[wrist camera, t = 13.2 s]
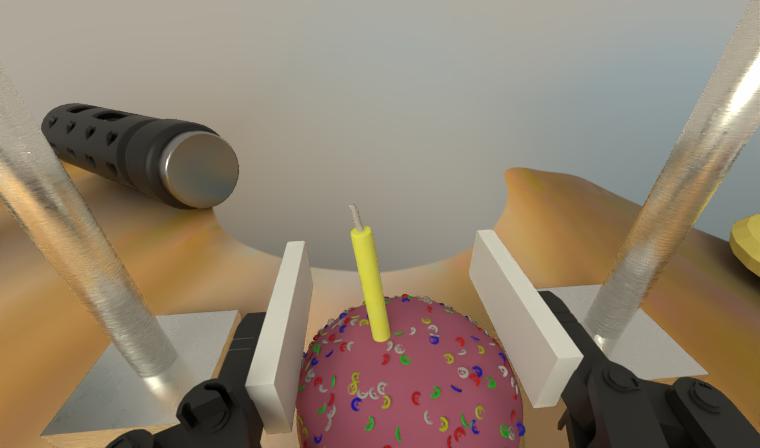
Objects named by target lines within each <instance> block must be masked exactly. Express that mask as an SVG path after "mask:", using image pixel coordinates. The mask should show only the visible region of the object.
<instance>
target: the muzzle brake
mask: <svg viewBox="0 0 760 448" xmlns="http://www.w3.org/2000/svg"><path fill="white" fill-rule="evenodd" d="M105 120H106V121H105ZM41 131H42V132H43V134H44V136H45V137H46V139H47V141H48V142H49V144H50V146H51V147H52V149H53V150H54V152H55V154H56V155H57V157H58V158H59V159H61V160H63V161H65V162H67V163H69V164H72V165H74V166H77V167H80V168H82V169H84V170H87V171H90V172H92V173H95V174H98V175H100V176H102V177H105V178H107V179H110V180H113V181H116V182H118V183H120V184H123V185H125V186H128V187H130V188H133V189H136V190H138V191H141V192H142V193H144V194H145V195H147V196H148V197H150V198H152V199H154V200H157V201H159V202H162V203H164V204H167V205H169V206H172V207H174V208H179V209H186V210H193V209H198V208H209V207H213V206H216V205H218V204H220V203H222V202H223V201H224V200H226V198H228V197H229V195H230V194H231V193H232V192H233V190H234V188H235V186H236V183H237V180H238V175H239V165H238V160H237V157H236V154H235V152H234V151H233V149H232V147H231V146H230V145H229V144H228V143H227V142H226V141H225V140H224V139H222V138H221V137H220V136H219V135H218V134H217V133H216V132H215V131H213V130H212V129H210V128H208V127H206V126H204V125H201V124H197V123H193V122H188V121H182V120H177V119H158V118H153V117H148V116H143V115H138V114H133V113H128V112H123V111H117V110H112V109H107V108H102V107H97V106H92V105H87V104H79V103H73V104H65V105H61V106H59V107H57V108H54V109H53V110H51V111H50V112H49V113H48V114H47V115H46V117H45V118H44V119H43V122H42V125H41Z"/></svg>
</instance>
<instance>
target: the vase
mask: <svg viewBox="0 0 760 448" xmlns="http://www.w3.org/2000/svg"><path fill="white" fill-rule="evenodd" d="M729 243H730V246H731V248H732V251H733V253H734V255H735V256H736V257H737V258H738V259H739V260H740V261H741V262H742V263H743V264H744V265H745V266H746V267H747V268H748V269H749V270H751V271H752V272H753V273H755V274H756V275H757V276H759V277H760V213H759V214H756V215H753V216H749V217H746V218H744V219H741V220H739V221H737V222H735V223H734V226H733V227H732V230H731V234H730V240H729Z"/></svg>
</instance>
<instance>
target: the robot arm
mask: <svg viewBox="0 0 760 448" xmlns="http://www.w3.org/2000/svg"><path fill="white" fill-rule="evenodd" d="M469 276H470V279H471V281H472V283H473V285H474V287H475V289H476V291H477V293H478V295H479V297H480V299H481V301H482V303H483V305H484V307H485V309H486V312H487V314H488V316H489V318H490V320H491V322H492V324H493V326H494V328H495V330H496V332H497V334H498V336H499V338H500V340H501V343H502V345H503V347H504V349H505V351H506V353H507V355H508V357H509V359H510V361H511V363H512V365H513V367H514V369H515V371H516V373H517V376H518V378H519V380H520V382H521V384H522V386H523V388H524V390H525V392H526V394H527V396H528V398H529V400H530V402H531V404H532V406H533V408H542V407H552V406H556V404H557V402H558V401H559V399H560V397H562V399H563V401H564V403H565V404H566V406H567V409H566V411H565V412H564V414H563V415H562V417H561V419H560V420H559V422H558V430H562V429H563V427H564V426H565V424H566V429H567V435H568V441H569V447H570V448H760V434H759V433H758V432H757V431H756V429H755V428H754V427H753V426H752V425H751V424H750V422H749V421H748V420H747V419H746V418H745V417H744V416H743V414H742V413H741V412H740V411H739V410H738V409H737V407H736V406H735V405H734V404H733V403H732V402H731V401H730V400H729V399H728V398H727V397H726V396H725V395H724V394H723V393H722V392H721V391H719V390H718V389H716V388H715V387H713V386H712V385H710V384H708V383H706V382H704V381H701V380H699V379H696V378H691V377H679V378H678V379H677V380H676V381H675V382H674V383H673V384H672V385H668V384H663V383H658V382H654V381H649V380H644V379H641V378H638V377H637V376H636V375H635V374H634V373H633V372H632V371H630V370H629V369H627V368H625V367H624V366H622V365H620V364H618V363H615V362H612V361H610V360H609V359H608V358H607V357H606V356H605V354H604V353H603V352H602V350H601V349H600V348H599V347H598V345H597V344H596V343H595V342H594V340H593V339H592V338H591V336H590V335H589V334H588V333H587V331H586V330H585V329H584V328H583V326H582V325H581V324H580V323H578V320H577V319H576V317H575V316H574V315H573V314H572V313H571V312H570V310H569V309H568V307H567V306H566V305H565V303H564V302H563V301H562V300H561V299H560V298H559V297H557V296H556V295H554V294H553V293H552V292H550V291H549V290H548V291H536V289H535V288H534V286H533V285H532V284H531V282H530V281H529V279H528V278H527V277H526V275H525V274H524V272H523V271H522V270H521V268H520V267H519V265H518V264H517V263H516V261H515V260H514V259H513V257H512V256H511V254H510V253H509V252H508V250H507V249H506V247H505V246H504V245H503V243H502V242H501V240H500V239H499V238H498V236H497V235H496V233H495V232H494V231H493V229H492V230H477V232H476V238H475V243H474V248H473V253H472V259H471V264H470V269H469ZM312 289H313V282H312V277H311V271H310V266H309V261H308V256H307V250H306V244H305V241H293V242H288V243H287V247H286V250H285V253H284V256H283V259H282V263H281V266H280V270H279V273H278V276H277V280H276V283H275V286H274V290H273V293H272V296H271V300H270V303H269V306H268V310H267V312H260V313H248V314H247V315H246V316H245V317H244V318H243V320H242V321H241V322H240V323H239V324H238V326H237V328H236V331H235V334H234V336H233V341H231V344H230V347H229V351H228V352H227V354H226V357H225V360H224V362H223V365H222V367H221V370H220V373H219V375H218V378H213V379H209V380H205V381H203V382H201V383H200V384H198V385H196V386H194V387H193V388H192V389H191V390H190V391H189V392H188V393H187V394H186V395H185V396H184V397H183V399H182V400H181V402H180V404H179V405H178V408H177V412H176V417H177V419H178V420H179V421H180V424H177V425H175V426H172V427H170V428H168V429H165V430H163V431H160V432H158V433H155V434H153V435H152V433H151V432H149V431H147V430H145V429H134V430H131V431H129V432H126V433H124V434H121V435H120V436H119V437H117V438H116V439H114V440H113V441H111V442H110V443H109V444H108V445H107V446H106V447H105V448H262V447H261V444H260V440H261V435H262V431H263V427H264V429H265V431H266V433H267V434H276V433H286V432H292V425H293V418H294V411H295V405H296V398H297V391H298V384H299V377H300V371H301V364H302V357H303V350H304V343H305V337H306V330H307V323H308V316H309V309H310V303H311V296H312Z"/></svg>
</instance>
